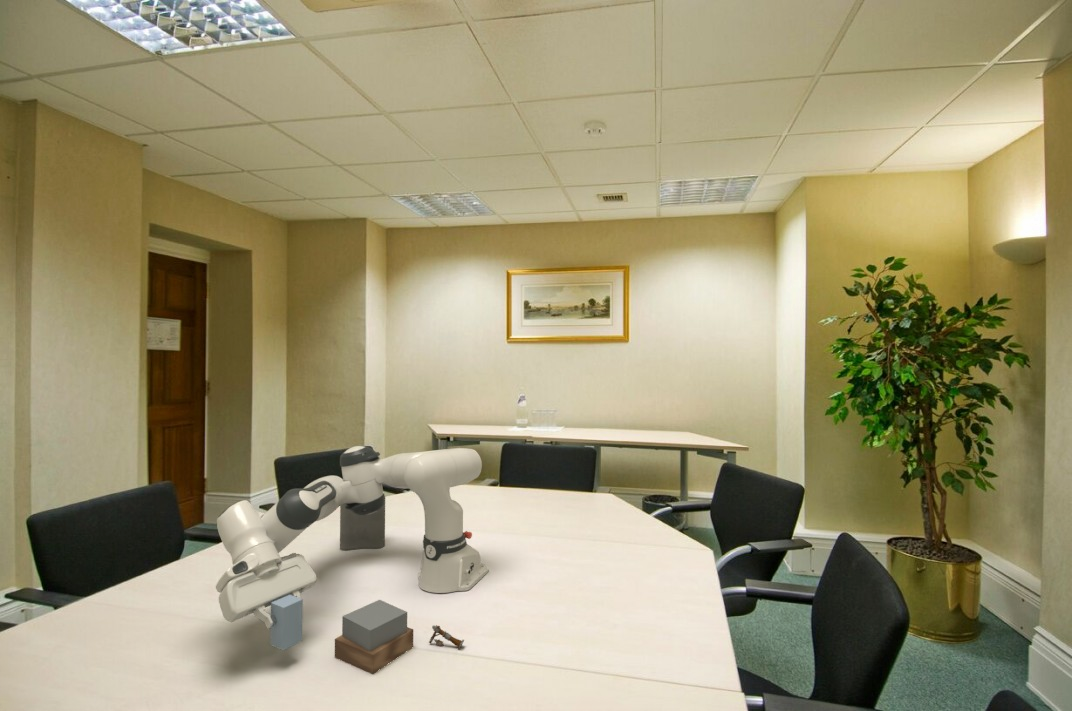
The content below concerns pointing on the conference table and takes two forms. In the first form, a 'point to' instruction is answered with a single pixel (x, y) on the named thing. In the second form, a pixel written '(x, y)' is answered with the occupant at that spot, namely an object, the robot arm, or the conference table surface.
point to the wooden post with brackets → (446, 635)
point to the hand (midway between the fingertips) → (285, 619)
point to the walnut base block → (373, 652)
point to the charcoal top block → (374, 624)
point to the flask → (362, 529)
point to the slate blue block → (286, 622)
